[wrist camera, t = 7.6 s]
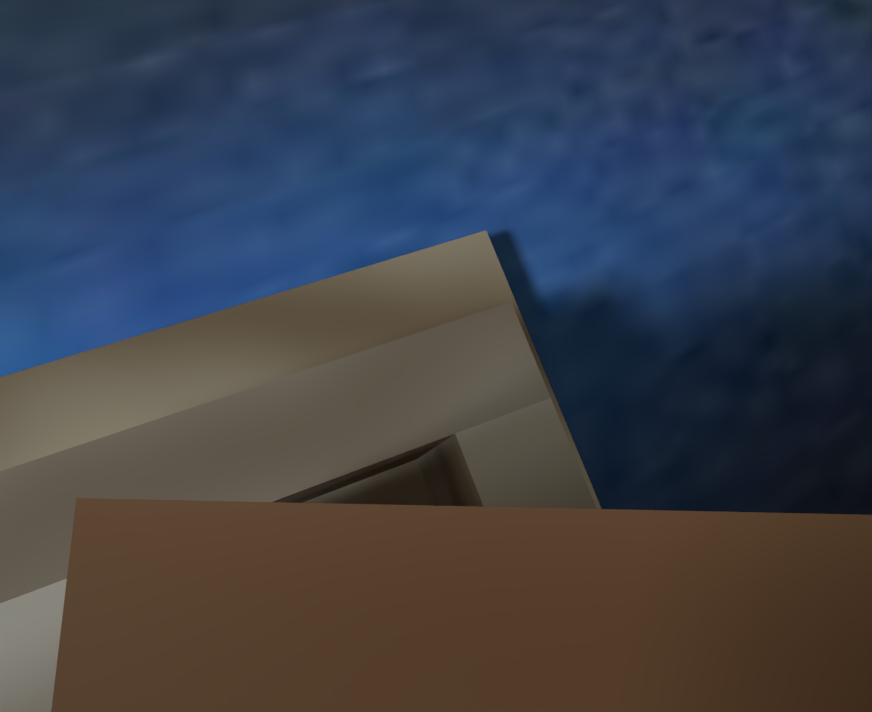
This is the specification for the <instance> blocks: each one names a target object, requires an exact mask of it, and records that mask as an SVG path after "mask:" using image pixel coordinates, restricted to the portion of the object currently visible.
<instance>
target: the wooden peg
mask: <svg viewBox="0 0 872 712" xmlns="http://www.w3.org/2000/svg"><path fill="white" fill-rule="evenodd" d="M51 712H872V515H859V514H812V513H764V512H716V511H668V510H620V509H573V508H525V507H477V506H429V505H382V504H334V503H286V502H238V501H191V500H143V499H95V498H76V505H75V514H74V522H73V531H72V539H71V548H70V556H69V565H68V573H67V582H66V590H65V599H64V607H63V616H62V624H61V633H60V641H59V650H58V658H57V667H56V675H55V684H54V692H53V701H52V709H51Z"/></svg>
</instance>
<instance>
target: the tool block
mask: <svg viewBox="0 0 872 712" xmlns="http://www.w3.org/2000/svg"><path fill="white" fill-rule="evenodd" d="M76 498H95V499H143V500H191V501H238V502H286V503H334V504H382V505H429V506H477V507H525V508H573V509H602V508H601V506H600V504H599V501H598V499H597V496H596V494H595V491H594V489H593V487H592V484H591V482H590V479H589V477H588V475H587V472H586V470H585V467H584V465H583V463H582V460H581V458H580V455H579V453H578V450H577V448H576V446H575V443H574V441H573V438H572V436H571V434H570V431H569V429H568V426H567V424H566V422H565V419H564V417H563V414H562V412H561V409H560V407H559V405H558V402H557V400H556V397H555V395H554V393H553V390H552V388H551V385H550V383H549V381H548V378H547V376H546V373H545V371H544V368H543V366H542V364H541V361H540V359H539V356H538V354H537V352H536V349H535V347H534V344H533V342H532V340H531V337H530V335H529V332H528V330H527V327H526V325H525V323H524V320H523V318H522V315H521V313H520V311H519V308H518V306H517V303H516V301H515V299H514V296H513V294H512V291H511V289H510V286H509V284H508V282H507V279H506V277H505V274H504V272H503V270H502V267H501V265H500V262H499V260H498V258H497V255H496V253H495V250H494V248H493V245H492V243H491V241H490V238H489V236H488V233H487V231H482V232H479V233H476V234H473V235H469V236H466V237H463V238H459V239H456V240H453V241H449V242H446V243H443V244H439V245H436V246H433V247H430V248H426V249H423V250H420V251H416V252H413V253H410V254H406V255H403V256H400V257H396V258H393V259H390V260H387V261H383V262H380V263H377V264H373V265H370V266H367V267H363V268H360V269H357V270H353V271H350V272H347V273H343V274H340V275H337V276H334V277H330V278H327V279H324V280H320V281H317V282H314V283H310V284H307V285H304V286H300V287H297V288H294V289H291V290H287V291H284V292H281V293H277V294H274V295H271V296H267V297H264V298H261V299H257V300H254V301H251V302H248V303H244V304H241V305H238V306H234V307H231V308H228V309H224V310H221V311H218V312H214V313H211V314H208V315H205V316H201V317H198V318H195V319H191V320H188V321H185V322H181V323H178V324H175V325H171V326H168V327H165V328H161V329H158V330H155V331H152V332H148V333H145V334H142V335H138V336H135V337H132V338H128V339H125V340H122V341H118V342H115V343H112V344H109V345H105V346H102V347H99V348H95V349H92V350H89V351H85V352H82V353H79V354H75V355H72V356H69V357H66V358H62V359H59V360H56V361H52V362H49V363H46V364H42V365H39V366H36V367H32V368H29V369H26V370H22V371H19V372H16V373H13V374H9V375H6V376H3V377H0V712H51V709H52V701H53V692H54V684H55V675H56V667H57V658H58V650H59V641H60V633H61V624H62V616H63V607H64V599H65V590H66V582H67V573H68V565H69V556H70V548H71V539H72V531H73V522H74V514H75V505H76Z"/></svg>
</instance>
